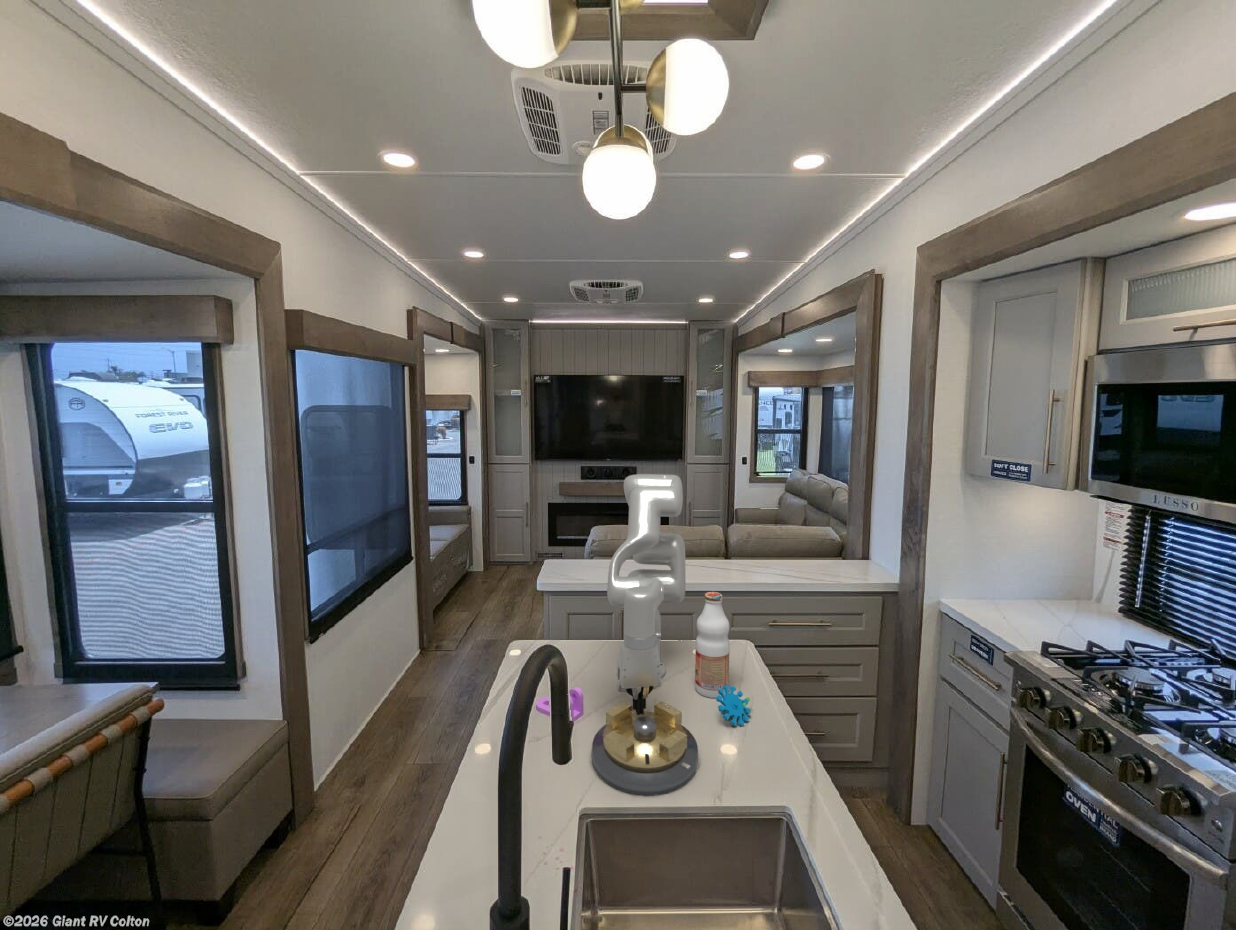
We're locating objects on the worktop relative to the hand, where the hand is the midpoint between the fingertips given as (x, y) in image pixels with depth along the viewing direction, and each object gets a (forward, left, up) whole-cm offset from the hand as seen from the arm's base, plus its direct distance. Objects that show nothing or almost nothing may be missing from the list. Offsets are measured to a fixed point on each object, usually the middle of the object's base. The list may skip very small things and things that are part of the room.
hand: (639, 711), depth 127 cm
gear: (-11, +23, -6) cm, 27 cm away
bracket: (-6, -23, -6) cm, 24 cm away
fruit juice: (-24, +17, -6) cm, 30 cm away
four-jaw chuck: (+8, +2, -3) cm, 9 cm away
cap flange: (+8, +2, -6) cm, 10 cm away
